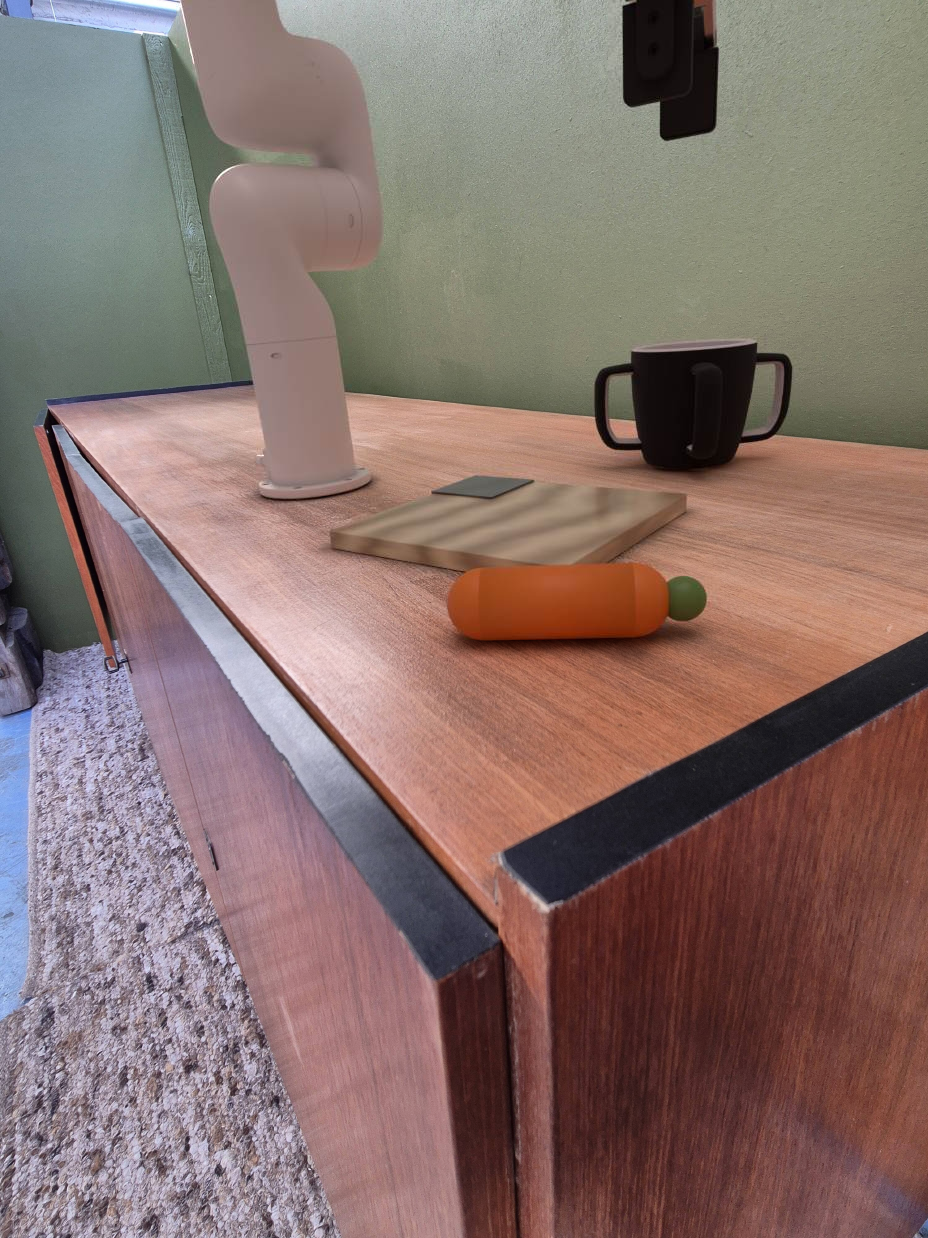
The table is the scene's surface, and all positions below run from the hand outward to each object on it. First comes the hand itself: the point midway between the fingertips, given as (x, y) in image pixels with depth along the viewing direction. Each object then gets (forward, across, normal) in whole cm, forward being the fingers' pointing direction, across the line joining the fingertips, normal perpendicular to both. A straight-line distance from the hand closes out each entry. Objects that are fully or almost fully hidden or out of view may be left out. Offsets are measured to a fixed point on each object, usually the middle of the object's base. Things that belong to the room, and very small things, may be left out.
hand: (673, 119), depth 39 cm
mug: (+25, -32, -3) cm, 41 cm away
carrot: (+25, +13, -4) cm, 29 cm away
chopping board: (+25, -6, -14) cm, 29 cm away
